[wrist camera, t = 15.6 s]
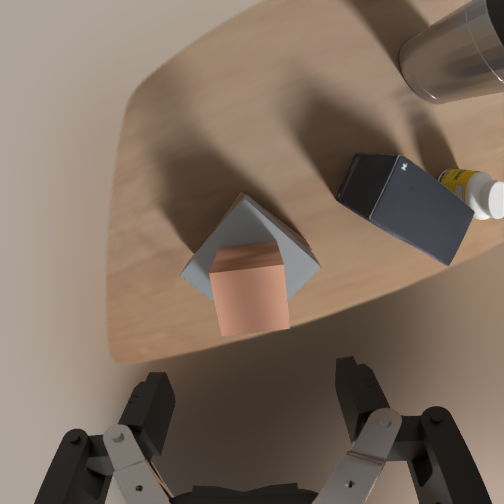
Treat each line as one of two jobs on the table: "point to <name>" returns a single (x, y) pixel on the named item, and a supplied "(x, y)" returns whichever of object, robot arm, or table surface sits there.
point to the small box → (406, 204)
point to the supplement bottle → (476, 191)
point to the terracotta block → (250, 288)
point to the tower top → (248, 232)
